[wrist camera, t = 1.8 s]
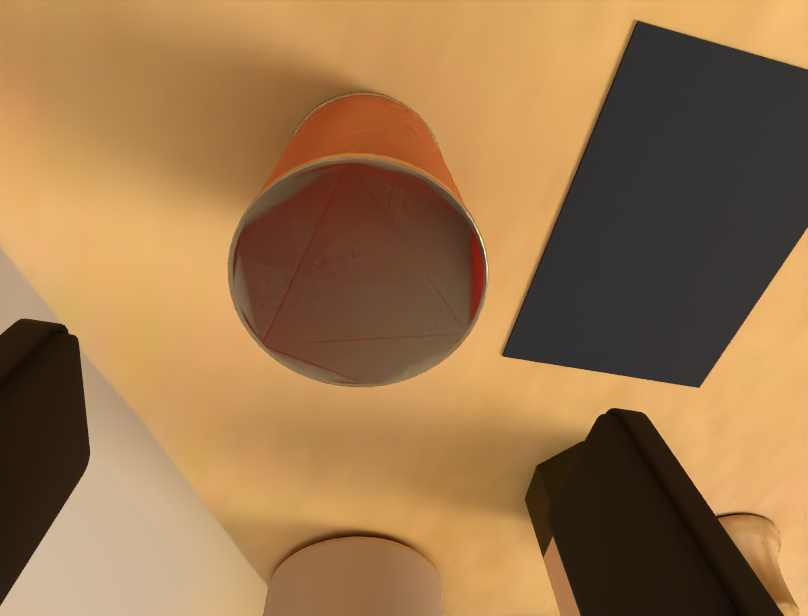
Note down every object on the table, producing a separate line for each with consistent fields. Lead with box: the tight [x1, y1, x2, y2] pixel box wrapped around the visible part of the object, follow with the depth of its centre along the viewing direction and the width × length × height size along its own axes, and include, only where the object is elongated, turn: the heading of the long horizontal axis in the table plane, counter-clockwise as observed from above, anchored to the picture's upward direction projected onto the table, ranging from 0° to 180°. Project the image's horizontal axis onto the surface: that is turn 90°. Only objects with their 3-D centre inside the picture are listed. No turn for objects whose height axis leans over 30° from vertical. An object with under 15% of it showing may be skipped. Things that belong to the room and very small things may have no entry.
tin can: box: [228, 92, 488, 387], centre depth 17 cm, size 7×7×10 cm
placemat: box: [502, 21, 808, 388], centre depth 24 cm, size 16×12×1 cm
